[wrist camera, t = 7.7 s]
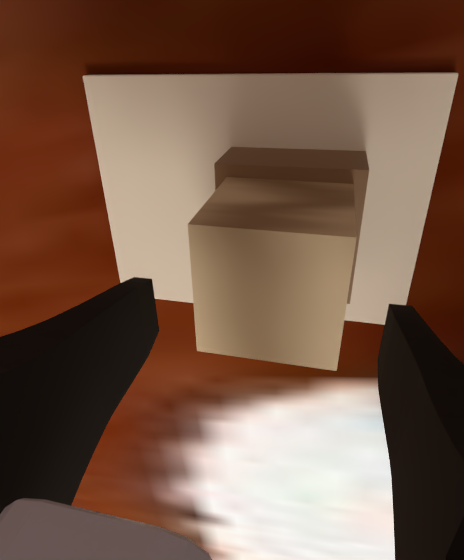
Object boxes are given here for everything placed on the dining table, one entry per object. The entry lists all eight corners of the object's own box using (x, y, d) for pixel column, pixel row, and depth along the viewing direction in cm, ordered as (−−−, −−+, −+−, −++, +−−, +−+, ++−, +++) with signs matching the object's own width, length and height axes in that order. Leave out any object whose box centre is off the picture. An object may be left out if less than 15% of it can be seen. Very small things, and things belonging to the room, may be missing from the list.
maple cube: (353, 183, 16) (356, 237, 12) (338, 294, 18) (336, 370, 14) (226, 177, 17) (187, 224, 13) (229, 282, 19) (196, 350, 15)
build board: (455, 72, 16) (479, 80, 13) (399, 319, 22) (408, 364, 19) (89, 74, 20) (42, 81, 17) (127, 289, 26) (98, 323, 23)
